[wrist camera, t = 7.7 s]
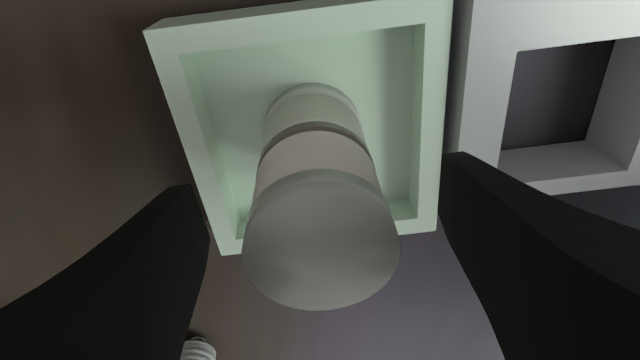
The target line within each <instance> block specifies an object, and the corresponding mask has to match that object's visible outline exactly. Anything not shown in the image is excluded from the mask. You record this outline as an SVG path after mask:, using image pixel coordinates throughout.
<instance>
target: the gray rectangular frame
mask: <svg viewBox="0 0 640 360" xmlns="http://www.w3.org/2000/svg"><path fill="white" fill-rule="evenodd" d="M613 39H616V40H615V44H614V47H613V50H612V53H611V57H610V60H609V63H608V66H607V70H606V73H605V76H604V79H603V83H602V86H601V89H600V92H599V96H598V99H597V102H596V105H595V109H594V112H593V115H592V118H591V122H590V125H589V128H588V132H587V135H586V138H585V140H583V141H575V142H566V143H558V144H550V145H542V146H533V147H525V148H517V149H508V150H500V148H501V142H502V136H503V130H504V125H505V119H506V113H507V107H508V101H509V95H510V90H511V84H512V78H513V72H514V66H515V61H516V55H517V52H518V51H526V50H534V49H542V48H550V47H557V46H565V45H573V44H581V43H589V42H597V41H605V40H613ZM461 151H464V152H467V153H469V154H471V155H473V156H475V157H477V158H479V159H481V160H482V161H484V162H486V163H488V164H490V165H492V166H493V167H495V168H497V169H499V170H501V171H503V172H504V173H506V174H508V175H510V176H512V177H514V178H516V179H517V180H519V181H521V182H523V183H525V184H527V185H529V186H531V187H533V188H535V189H537V190H539V191H541V192H543V193H545V194H548V195H557V194H566V193H574V192H583V191H591V190H600V189H608V188H617V187H625V186H634V185H640V0H453V12H452V25H451V38H450V52H449V65H448V78H447V91H446V104H445V118H444V131H443V144H442V154H444V153H452V152H461ZM441 158H442V157H441ZM440 172H441V171H440Z"/></svg>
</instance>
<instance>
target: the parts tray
mask: <svg viewBox="0 0 640 360" xmlns="http://www.w3.org/2000/svg"><path fill="white" fill-rule="evenodd" d="M452 12H453V0H302V1H294V2H286V3H279V4H271V5H263V6H256V7H248V8H240V9H232V10H225V11H217V12H209V13H202V14H194V15H186V16H178V17H171V18H163V19H161V20H160V21H158V22H156V23H155V24H153V25H151V26H150V27H148V28H146V29H145V30H143V34H144V37H145V40H146V43H147V46H148V48H149V51H150V54H151V57H152V60H153V63H154V65H155V68H156V71H157V74H158V77H159V80H160V83H161V85H162V88H163V91H164V94H165V97H166V100H167V102H168V105H169V108H170V111H171V114H172V117H173V120H174V122H175V125H176V128H177V131H178V134H179V137H180V139H181V142H182V145H183V148H184V151H185V154H186V157H187V159H188V162H189V165H190V168H191V171H192V174H193V176H194V179H195V182H196V185H197V188H198V191H199V194H200V196H201V199H202V202H203V205H204V208H205V211H206V213H207V216H208V219H209V222H210V225H211V228H212V231H213V233H214V236H215V239H216V242H217V245H218V248H219V250H220V253H221V256H225V255H234V254H241V250H242V245H243V239H244V234H245V228H246V223H247V217H248V214H249V211H250V208H251V206H252V200H253V195H254V189H255V183H256V174H257V168H258V163H259V159H260V155H261V149H262V143H263V130H264V124H265V119H266V115H267V112H268V110H269V108H270V106H271V104H272V103H273V101H274V100H275V99H276V98H277V97H278V96H279V95H280V94H281V93H283V92H284V91H286V90H287V89H289V88H291V87H293V86H296V85H299V84H304V83H322V84H326V85H329V86H332V87H334V88H336V89H338V90H340V91H341V92H343V93H344V94H345V95H346V96H347V97H348V98H349V99H350V100H351V101H352V103H353V104H354V106H355V108H356V110H357V112H358V115H359V118H360V121H361V124H362V128H363V135H364V138H365V141H366V144H367V147H368V150H369V152H370V155H371V157H372V160H373V163H374V166H375V170H376V175H377V178H378V181H379V184H380V187H381V190H382V193H383V196H384V198H385V200H386V202H387V204H388V206H389V208H390V211H391V214H392V217H393V220H394V223H395V226H396V229H397V232H398V235H405V234H413V233H422V232H430V231H436V223H437V210H438V197H439V184H440V171H441V157H442V144H443V131H444V118H445V104H446V91H447V78H448V65H449V52H450V38H451V25H452Z"/></svg>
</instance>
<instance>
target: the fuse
mask: <svg viewBox="0 0 640 360" xmlns="http://www.w3.org/2000/svg"><path fill="white" fill-rule="evenodd" d="M400 255H401V243H400V239H399V235H398V232H397V229H396V226H395V223H394V220H393V217H392V214H391V211H390V208H389V206H388V204H387V202H386V200H385V198H384V196H383V193H382V190H381V187H380V184H379V181H378V178H377V175H376V170H375V166H374V163H373V160H372V157H371V155H370V152H369V150H368V147H367V144H366V141H365V138H364V135H363V128H362V124H361V121H360V118H359V115H358V112H357V110H356V108H355V106H354V104H353V103H352V101H351V100H350V99H349V98H348V97H347V96H346V95H345V94H344V93H343V92H341V91H340V90H338V89H336V88H334V87H332V86H329V85H326V84H322V83H304V84H299V85H296V86H293V87H291V88H289V89H287V90H286V91H284V92H283V93H281V94H280V95H279V96H278V97H277V98H276V99H275V100H274V101H273V103H272V104H271V106H270V108H269V110H268V112H267V115H266V119H265V124H264V130H263V143H262V149H261V155H260V159H259V163H258V168H257V174H256V183H255V189H254V195H253V200H252V206H251V208H250V211H249V214H248V217H247V223H246V228H245V234H244V239H243V245H242V250H241V260H242V266H243V269H244V271H245V274H246V276H247V277H248V279H249V281H250V282H251V283H252V285H253V286H254V287H255V288H256V289H257V290H258V291H259V292H261V293H262V294H263V295H265V296H266V297H268V298H269V299H271V300H273V301H275V302H277V303H279V304H282V305H285V306H288V307H291V308H296V309H302V310H312V311H322V310H333V309H339V308H343V307H347V306H350V305H353V304H356V303H358V302H361V301H363V300H365V299H367V298H369V297H370V296H372V295H373V294H375V293H376V292H378V291H379V290H380V289H381V288H382V287H384V286H385V284H386V283H387V282H388V281H389V280H390V279H391V277H392V276H393V274H394V273H395V271H396V269H397V267H398V264H399V261H400Z"/></svg>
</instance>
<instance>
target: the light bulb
mask: <svg viewBox="0 0 640 360" xmlns="http://www.w3.org/2000/svg"><path fill="white" fill-rule="evenodd" d="M215 357H216V351H215V349H214V348H213V347H212V346H211V345H210V344H208V343H206V340H205V339H204V338H202V337H193V338H191V340H187V341H185V342H184V346H183V350H182V354H181V359H180V360H216V359H215Z"/></svg>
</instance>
